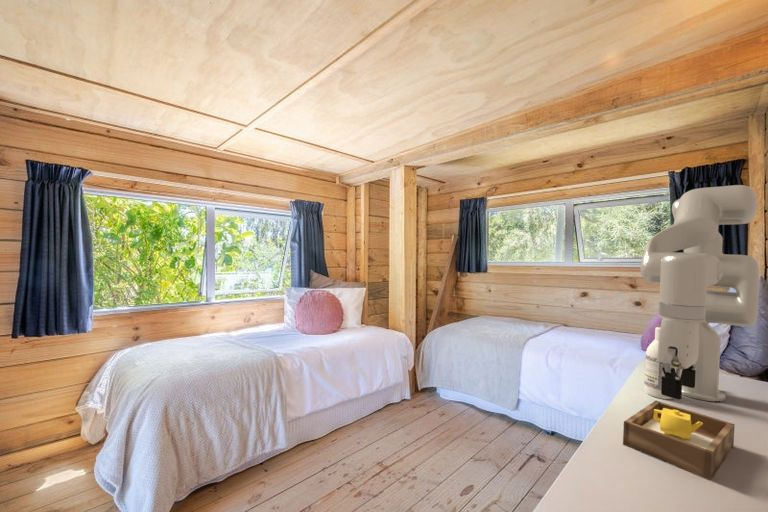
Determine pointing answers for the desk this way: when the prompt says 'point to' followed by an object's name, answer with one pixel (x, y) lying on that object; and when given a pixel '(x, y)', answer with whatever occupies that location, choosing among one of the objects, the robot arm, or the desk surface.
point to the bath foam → (653, 369)
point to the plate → (694, 439)
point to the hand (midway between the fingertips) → (678, 391)
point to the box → (678, 450)
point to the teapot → (676, 423)
